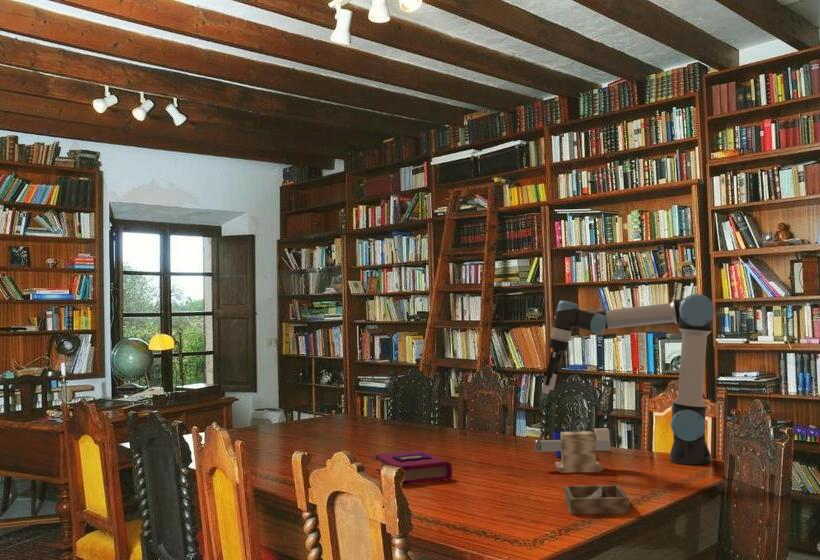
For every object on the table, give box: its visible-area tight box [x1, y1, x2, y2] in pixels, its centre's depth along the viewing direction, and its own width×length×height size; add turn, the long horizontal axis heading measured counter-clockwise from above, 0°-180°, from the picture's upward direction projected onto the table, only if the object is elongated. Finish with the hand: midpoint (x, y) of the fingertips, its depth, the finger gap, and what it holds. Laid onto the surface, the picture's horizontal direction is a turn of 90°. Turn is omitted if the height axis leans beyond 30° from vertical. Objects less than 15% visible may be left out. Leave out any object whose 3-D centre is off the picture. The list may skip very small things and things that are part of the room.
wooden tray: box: [563, 484, 631, 515], centre depth 226 cm, size 17×17×4 cm
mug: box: [552, 430, 572, 459], centre depth 307 cm, size 8×12×10 cm
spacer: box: [593, 427, 611, 442], centre depth 283 cm, size 5×5×4 cm
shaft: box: [534, 439, 612, 453], centre depth 283 cm, size 28×4×4 cm, turn 84°
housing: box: [555, 430, 604, 474], centre depth 283 cm, size 16×14×13 cm
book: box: [374, 449, 453, 486], centre depth 282 cm, size 21×28×8 cm
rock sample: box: [587, 484, 606, 498], centre depth 227 cm, size 10×8×9 cm
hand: (547, 391), depth 296 cm, fingers open, 13 cm apart
